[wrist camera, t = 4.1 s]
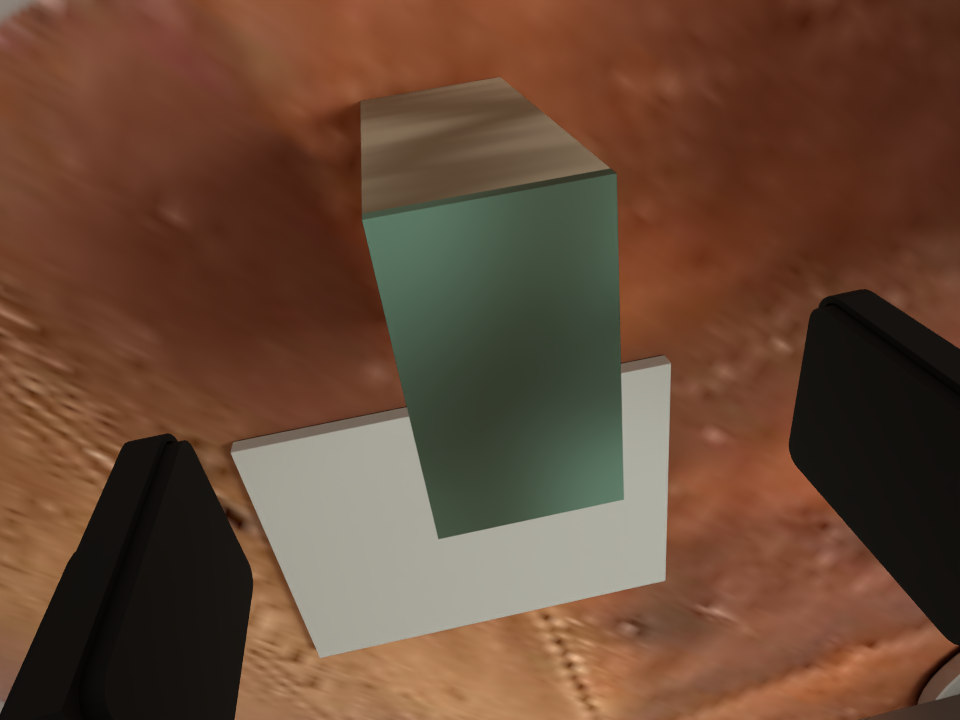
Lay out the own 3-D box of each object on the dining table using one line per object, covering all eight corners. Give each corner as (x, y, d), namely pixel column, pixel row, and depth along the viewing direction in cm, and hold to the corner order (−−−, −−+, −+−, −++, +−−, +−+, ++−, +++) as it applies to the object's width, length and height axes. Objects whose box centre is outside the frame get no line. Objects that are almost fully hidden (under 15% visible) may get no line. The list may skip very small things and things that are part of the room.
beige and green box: (500, 77, 19) (616, 173, 10) (524, 296, 22) (623, 499, 14) (360, 100, 18) (362, 219, 10) (407, 318, 22) (438, 539, 14)
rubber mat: (664, 355, 25) (670, 363, 24) (660, 570, 31) (665, 580, 30) (233, 442, 24) (230, 452, 23) (320, 646, 30) (320, 658, 29)
